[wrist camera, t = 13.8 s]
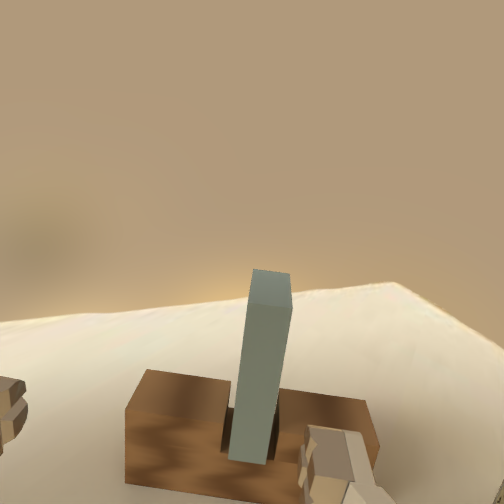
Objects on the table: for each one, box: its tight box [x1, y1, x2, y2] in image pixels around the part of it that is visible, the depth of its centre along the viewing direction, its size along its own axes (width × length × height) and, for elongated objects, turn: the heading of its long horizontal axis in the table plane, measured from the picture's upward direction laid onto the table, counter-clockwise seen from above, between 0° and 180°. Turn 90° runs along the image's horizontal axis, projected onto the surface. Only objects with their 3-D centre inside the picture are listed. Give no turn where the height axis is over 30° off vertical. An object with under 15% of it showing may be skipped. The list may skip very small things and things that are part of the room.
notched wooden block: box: [125, 369, 380, 504], centre depth 32 cm, size 20×5×8 cm, turn 86°
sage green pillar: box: [228, 269, 293, 465], centre depth 29 cm, size 3×6×14 cm, turn 176°
